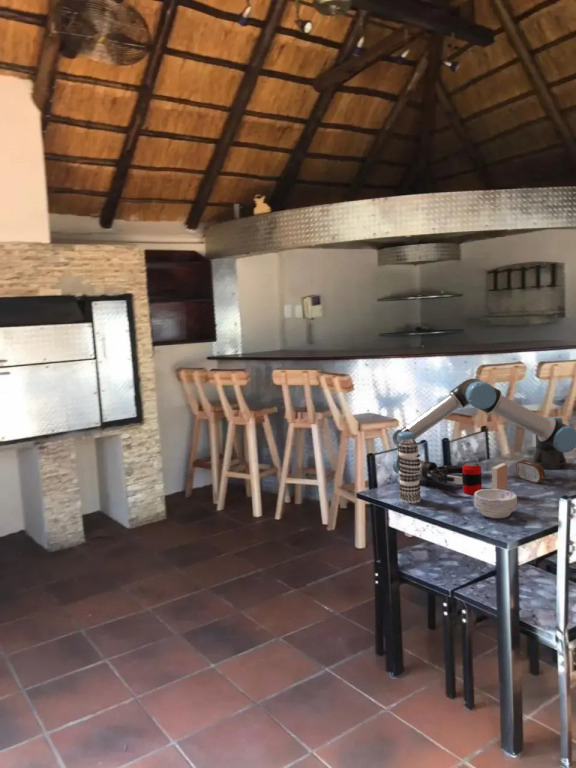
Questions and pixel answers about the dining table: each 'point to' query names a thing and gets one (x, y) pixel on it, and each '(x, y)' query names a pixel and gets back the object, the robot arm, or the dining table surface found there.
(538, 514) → the dining table surface
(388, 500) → the dining table surface
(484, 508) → the paper bowls
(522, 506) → the dining table surface
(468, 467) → the soda can
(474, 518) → the dining table surface
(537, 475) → the tin
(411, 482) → the decorative candle
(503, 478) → the block
